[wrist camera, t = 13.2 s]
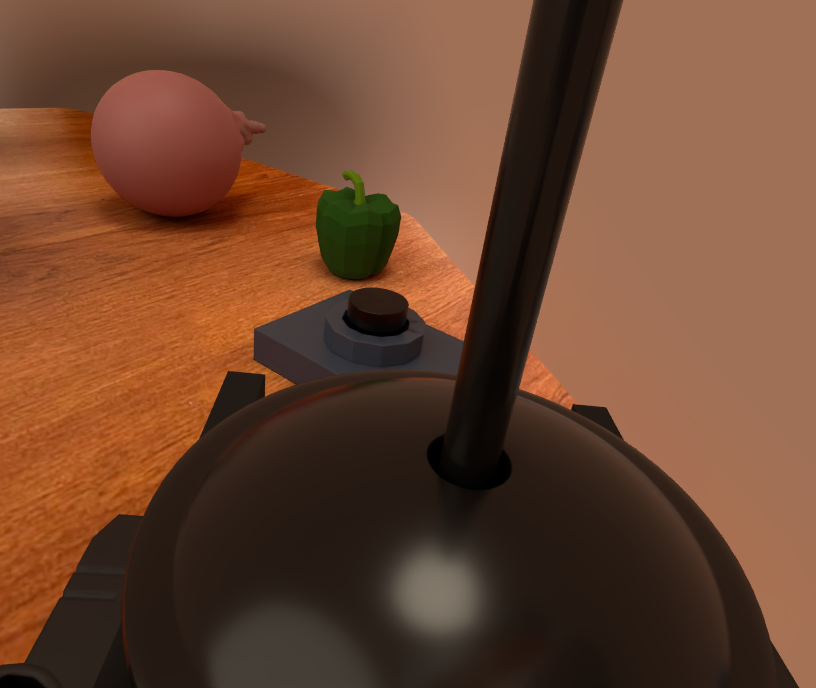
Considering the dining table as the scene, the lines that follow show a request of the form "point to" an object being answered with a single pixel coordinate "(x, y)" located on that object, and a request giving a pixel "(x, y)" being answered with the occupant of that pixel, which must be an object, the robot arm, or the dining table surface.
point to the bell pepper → (356, 229)
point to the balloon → (168, 142)
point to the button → (377, 312)
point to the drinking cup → (446, 495)
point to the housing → (349, 345)
